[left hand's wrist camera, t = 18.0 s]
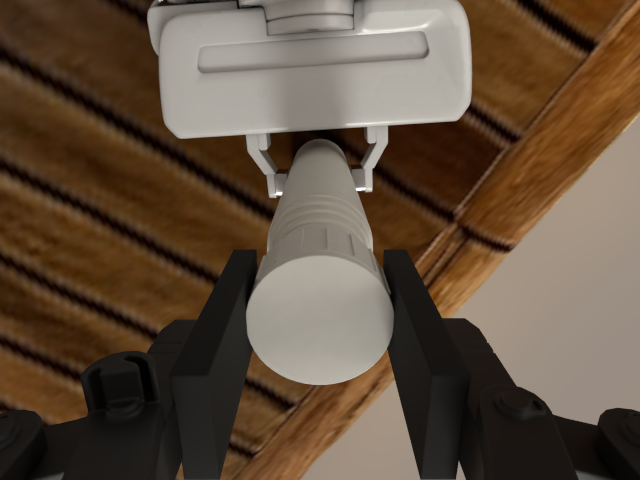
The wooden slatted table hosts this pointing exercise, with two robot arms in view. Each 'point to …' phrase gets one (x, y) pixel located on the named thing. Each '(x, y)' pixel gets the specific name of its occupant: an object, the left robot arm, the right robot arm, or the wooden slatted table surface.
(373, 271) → the cap
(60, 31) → the wooden slatted table surface
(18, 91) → the wooden slatted table surface
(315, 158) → the bottle
